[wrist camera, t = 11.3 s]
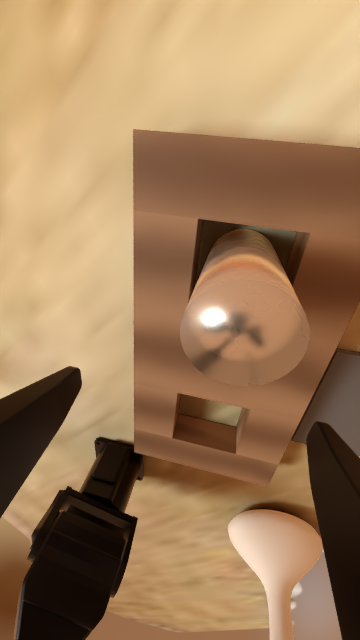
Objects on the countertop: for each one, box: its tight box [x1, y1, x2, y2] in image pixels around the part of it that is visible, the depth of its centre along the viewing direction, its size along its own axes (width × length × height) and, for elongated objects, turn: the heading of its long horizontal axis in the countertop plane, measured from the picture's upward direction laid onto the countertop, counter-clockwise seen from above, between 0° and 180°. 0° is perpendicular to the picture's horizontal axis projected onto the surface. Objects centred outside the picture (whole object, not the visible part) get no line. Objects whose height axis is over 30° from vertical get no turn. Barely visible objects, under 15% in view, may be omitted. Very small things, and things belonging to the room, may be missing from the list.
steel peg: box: [180, 229, 310, 386], centre depth 14 cm, size 5×5×10 cm
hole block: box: [133, 129, 360, 487], centre depth 20 cm, size 28×14×3 cm, turn 175°
